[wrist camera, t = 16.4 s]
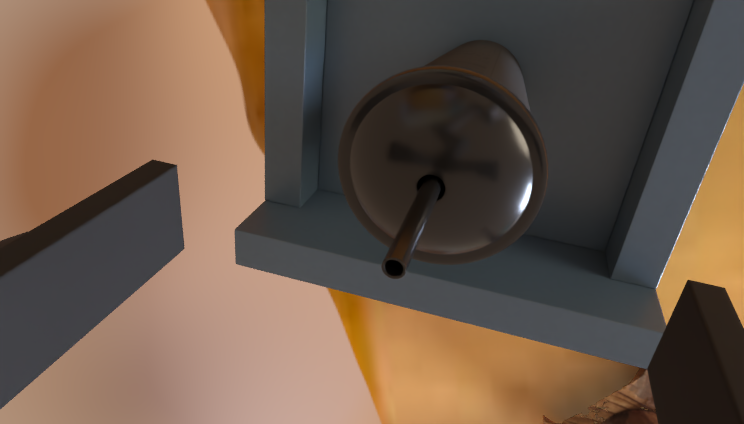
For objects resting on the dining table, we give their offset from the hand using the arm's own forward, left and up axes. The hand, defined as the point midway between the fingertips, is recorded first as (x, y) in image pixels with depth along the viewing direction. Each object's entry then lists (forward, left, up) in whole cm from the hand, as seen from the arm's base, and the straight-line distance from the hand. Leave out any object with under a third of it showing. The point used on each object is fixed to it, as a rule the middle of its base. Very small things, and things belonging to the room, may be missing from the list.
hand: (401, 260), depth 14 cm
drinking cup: (0, 0, -20) cm, 20 cm away
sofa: (+2, 0, -26) cm, 26 cm away
